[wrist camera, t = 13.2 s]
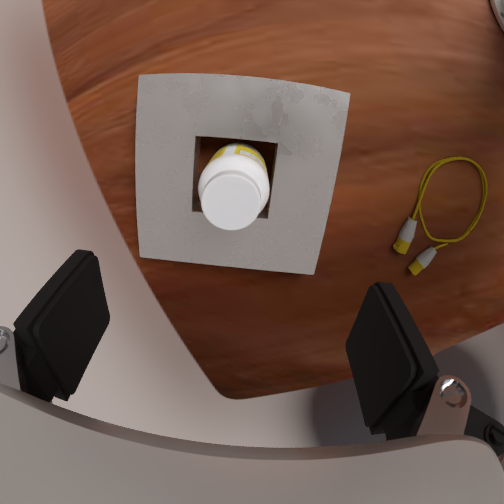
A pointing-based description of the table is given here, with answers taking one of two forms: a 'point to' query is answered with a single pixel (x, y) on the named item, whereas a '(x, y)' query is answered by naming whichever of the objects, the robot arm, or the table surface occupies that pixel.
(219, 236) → the hole plate
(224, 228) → the supplement bottle
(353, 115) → the table surface
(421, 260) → the extension cord
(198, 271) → the table surface
